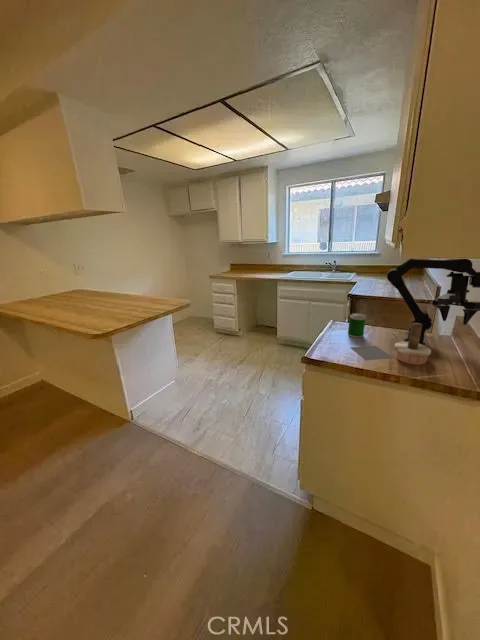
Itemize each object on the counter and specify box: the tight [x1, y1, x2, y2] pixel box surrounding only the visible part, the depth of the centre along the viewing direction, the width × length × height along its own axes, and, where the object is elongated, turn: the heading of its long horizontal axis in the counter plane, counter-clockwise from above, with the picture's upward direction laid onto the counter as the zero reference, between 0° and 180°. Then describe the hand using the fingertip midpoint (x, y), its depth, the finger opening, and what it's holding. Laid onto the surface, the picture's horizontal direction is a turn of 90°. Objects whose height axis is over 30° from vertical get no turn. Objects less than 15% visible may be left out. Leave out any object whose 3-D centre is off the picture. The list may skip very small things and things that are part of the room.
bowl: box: [394, 349, 429, 366], centre depth 112 cm, size 11×11×4 cm
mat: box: [349, 345, 395, 361], centre depth 119 cm, size 13×13×1 cm
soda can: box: [347, 312, 367, 339], centre depth 137 cm, size 8×8×12 cm
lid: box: [394, 323, 432, 357], centre depth 110 cm, size 13×13×12 cm
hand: (454, 322), depth 118 cm, fingers open, 9 cm apart
